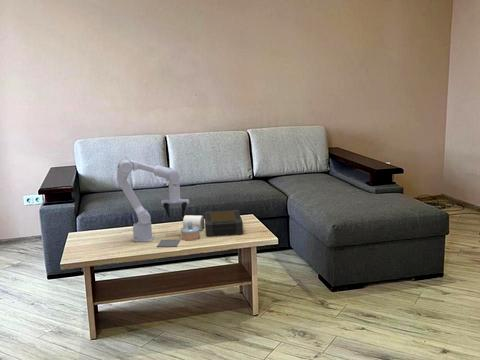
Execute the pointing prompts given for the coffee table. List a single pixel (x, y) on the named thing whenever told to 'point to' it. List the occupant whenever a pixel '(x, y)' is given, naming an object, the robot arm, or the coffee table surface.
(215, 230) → the cash box
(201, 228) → the mug
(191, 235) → the bowl
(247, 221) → the coffee table surface
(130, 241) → the coffee table surface
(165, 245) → the mat
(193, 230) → the lid
